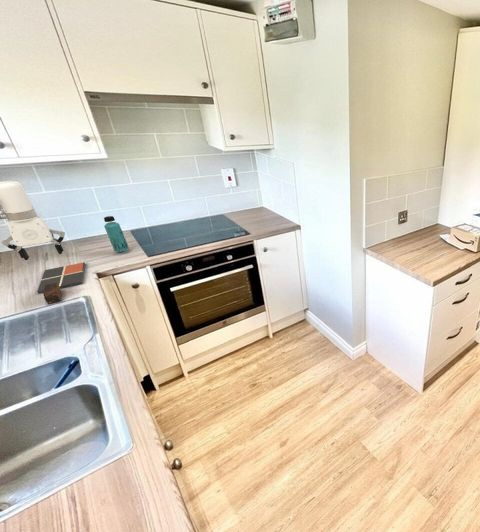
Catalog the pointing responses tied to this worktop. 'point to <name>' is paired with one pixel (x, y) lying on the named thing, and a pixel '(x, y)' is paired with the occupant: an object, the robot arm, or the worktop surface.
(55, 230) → the robot arm
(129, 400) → the worktop surface
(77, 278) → the board
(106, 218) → the beverage bottle
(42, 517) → the worktop surface
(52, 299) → the brick
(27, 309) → the worktop surface
